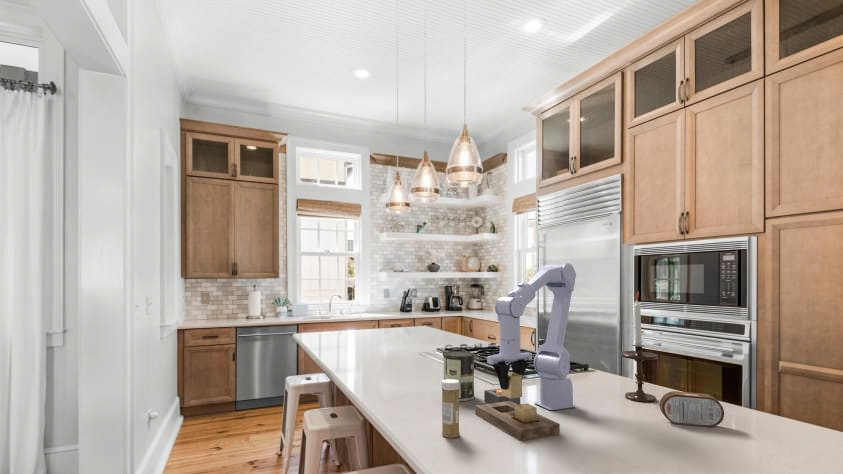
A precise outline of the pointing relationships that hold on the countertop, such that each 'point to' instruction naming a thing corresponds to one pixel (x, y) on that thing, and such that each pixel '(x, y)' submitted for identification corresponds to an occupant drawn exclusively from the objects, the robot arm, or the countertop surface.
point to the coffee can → (460, 372)
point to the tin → (692, 409)
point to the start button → (499, 392)
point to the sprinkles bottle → (450, 408)
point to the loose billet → (513, 386)
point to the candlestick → (639, 360)
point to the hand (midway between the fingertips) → (510, 387)
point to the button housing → (497, 397)
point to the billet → (525, 413)
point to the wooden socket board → (505, 420)
